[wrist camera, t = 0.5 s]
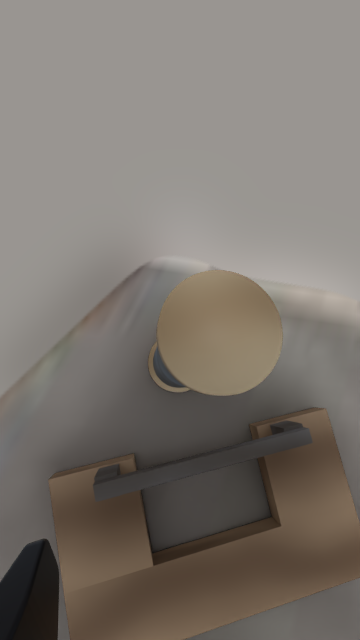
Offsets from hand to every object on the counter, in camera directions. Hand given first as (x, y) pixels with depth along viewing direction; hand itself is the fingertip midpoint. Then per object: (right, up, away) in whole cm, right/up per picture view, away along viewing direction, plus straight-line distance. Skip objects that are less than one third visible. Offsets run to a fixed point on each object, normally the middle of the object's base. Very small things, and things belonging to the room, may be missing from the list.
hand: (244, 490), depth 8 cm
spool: (-2, +1, +15) cm, 15 cm away
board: (0, -9, +13) cm, 16 cm away
